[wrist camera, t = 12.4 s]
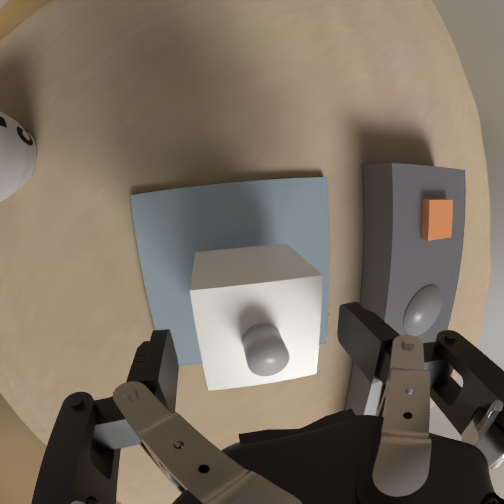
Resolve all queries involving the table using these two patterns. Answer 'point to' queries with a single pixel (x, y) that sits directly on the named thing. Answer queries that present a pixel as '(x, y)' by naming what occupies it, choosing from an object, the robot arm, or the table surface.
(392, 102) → the table surface
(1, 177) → the cup
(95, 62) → the table surface
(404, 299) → the power strip
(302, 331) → the block
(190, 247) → the mat
